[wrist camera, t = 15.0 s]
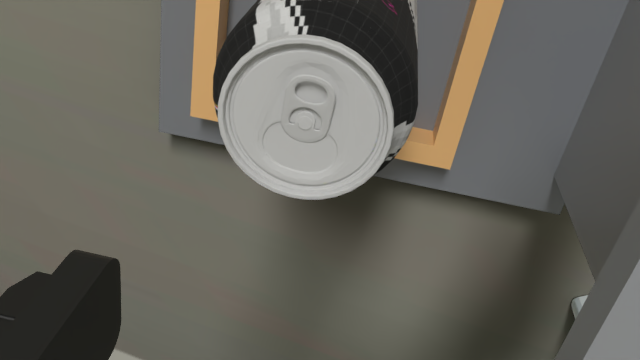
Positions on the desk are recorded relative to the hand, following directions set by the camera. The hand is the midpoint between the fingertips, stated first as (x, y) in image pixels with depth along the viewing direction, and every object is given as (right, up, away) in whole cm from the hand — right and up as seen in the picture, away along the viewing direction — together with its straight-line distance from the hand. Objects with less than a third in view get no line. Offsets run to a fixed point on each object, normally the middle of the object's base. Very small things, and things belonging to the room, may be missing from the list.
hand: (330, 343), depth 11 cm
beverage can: (+1, +10, +15) cm, 18 cm away
